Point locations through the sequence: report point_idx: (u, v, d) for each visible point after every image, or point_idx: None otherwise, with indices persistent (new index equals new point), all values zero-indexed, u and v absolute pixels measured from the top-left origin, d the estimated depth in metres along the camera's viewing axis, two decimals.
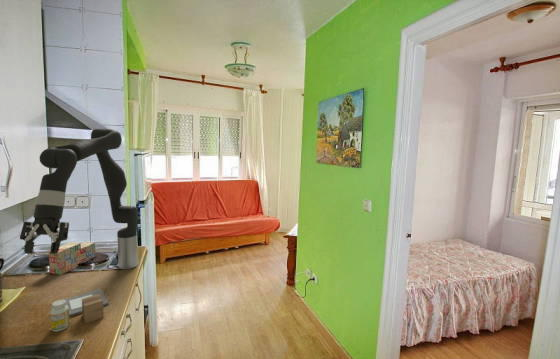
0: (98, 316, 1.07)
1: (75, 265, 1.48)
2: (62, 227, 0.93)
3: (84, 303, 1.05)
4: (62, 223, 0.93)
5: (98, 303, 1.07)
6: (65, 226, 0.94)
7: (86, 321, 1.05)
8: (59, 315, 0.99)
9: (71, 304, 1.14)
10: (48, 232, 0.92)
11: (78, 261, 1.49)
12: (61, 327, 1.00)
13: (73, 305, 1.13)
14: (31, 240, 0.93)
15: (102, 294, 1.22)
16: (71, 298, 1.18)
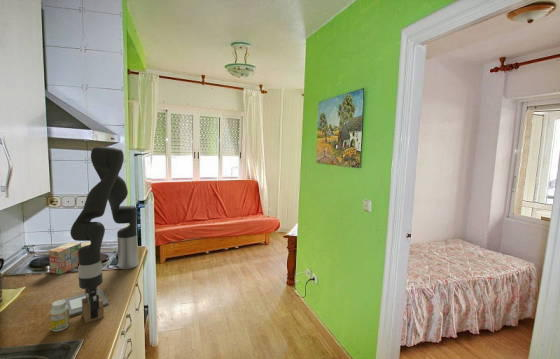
0: (98, 316, 1.07)
1: (75, 265, 1.48)
2: (91, 301, 1.02)
3: (84, 303, 1.05)
4: (90, 298, 1.02)
5: None
6: (94, 300, 1.02)
7: (86, 321, 1.05)
8: (59, 315, 0.99)
9: (71, 304, 1.14)
10: (87, 300, 1.05)
11: None
12: (61, 327, 1.00)
13: (73, 305, 1.13)
14: None
15: (102, 294, 1.22)
16: (71, 298, 1.18)
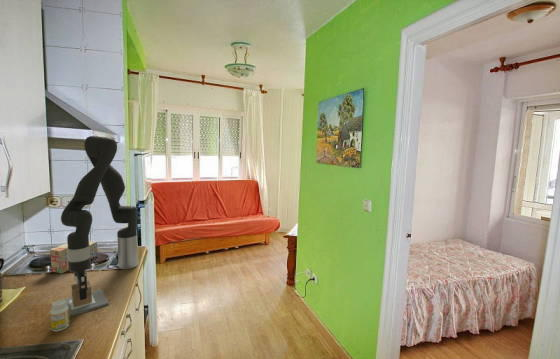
0: (86, 301, 1.15)
1: None
2: (79, 282, 1.09)
3: (73, 288, 1.13)
4: (78, 278, 1.09)
5: None
6: (82, 280, 1.09)
7: (75, 305, 1.12)
8: (59, 315, 0.99)
9: (71, 304, 1.14)
10: (76, 282, 1.12)
11: None
12: (61, 327, 1.00)
13: (73, 305, 1.13)
14: None
15: (102, 294, 1.22)
16: (71, 298, 1.18)
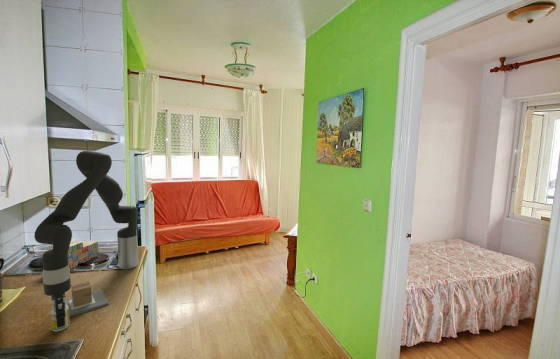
0: (86, 301, 1.15)
1: (77, 264, 1.49)
2: (56, 309, 0.95)
3: (73, 288, 1.13)
4: (55, 306, 0.95)
5: (87, 288, 1.14)
6: (59, 308, 0.96)
7: (75, 305, 1.12)
8: None
9: (71, 304, 1.14)
10: (53, 307, 0.98)
11: (80, 260, 1.51)
12: (61, 327, 1.00)
13: (73, 305, 1.13)
14: None
15: (102, 294, 1.22)
16: (71, 298, 1.18)
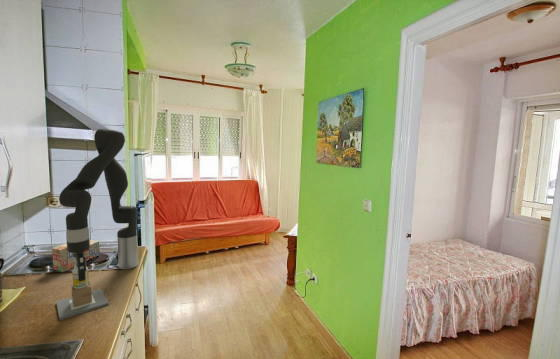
0: (86, 301, 1.15)
1: None
2: (78, 262, 1.08)
3: (73, 288, 1.13)
4: (77, 259, 1.08)
5: (87, 288, 1.14)
6: (81, 261, 1.08)
7: (75, 305, 1.12)
8: None
9: (71, 304, 1.14)
10: (75, 263, 1.11)
11: None
12: (82, 285, 1.13)
13: (73, 305, 1.13)
14: None
15: (102, 294, 1.22)
16: (71, 298, 1.18)
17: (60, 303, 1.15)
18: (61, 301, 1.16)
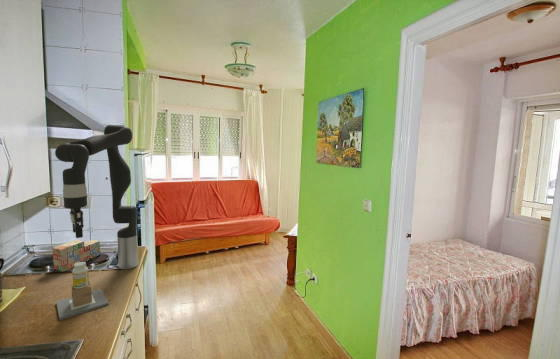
0: (86, 301, 1.15)
1: None
2: (75, 218, 1.05)
3: (73, 288, 1.13)
4: (74, 214, 1.05)
5: (87, 288, 1.14)
6: (78, 216, 1.06)
7: (75, 305, 1.12)
8: (80, 274, 1.12)
9: (71, 304, 1.14)
10: (72, 220, 1.08)
11: (81, 259, 1.52)
12: (82, 285, 1.13)
13: (73, 305, 1.13)
14: None
15: (102, 294, 1.22)
16: (71, 298, 1.18)
17: (60, 303, 1.15)
18: (61, 301, 1.16)
